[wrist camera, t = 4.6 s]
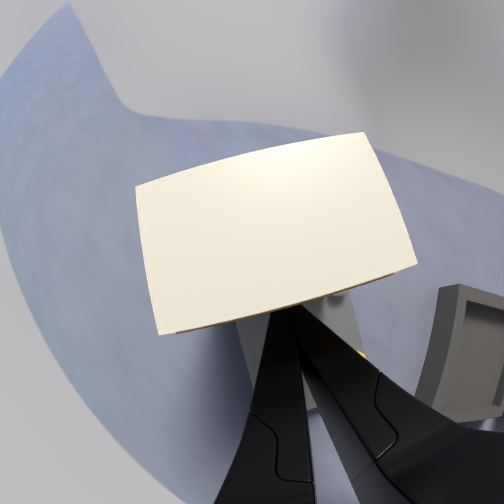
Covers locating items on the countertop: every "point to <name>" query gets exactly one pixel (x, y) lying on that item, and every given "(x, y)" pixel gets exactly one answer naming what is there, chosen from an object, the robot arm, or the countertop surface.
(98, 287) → the countertop surface
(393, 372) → the countertop surface
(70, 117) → the countertop surface
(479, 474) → the robot arm
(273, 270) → the cream box
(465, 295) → the grey shallow tray
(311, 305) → the panel
